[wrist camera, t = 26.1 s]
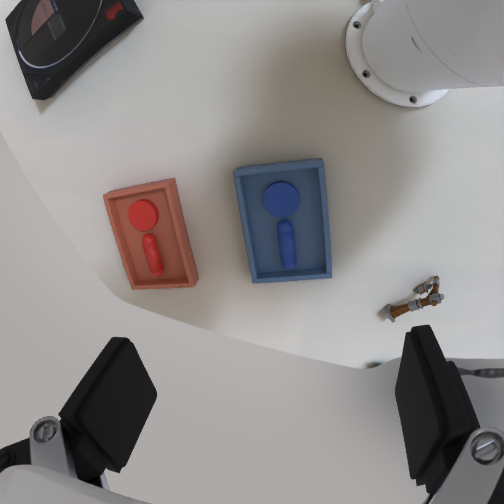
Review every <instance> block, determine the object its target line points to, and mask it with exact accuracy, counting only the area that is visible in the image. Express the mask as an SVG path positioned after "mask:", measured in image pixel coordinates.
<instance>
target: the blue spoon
mask: <svg viewBox="0 0 504 504" xmlns="http://www.w3.org/2000/svg"><path fill="white" fill-rule="evenodd" d="M263 203H264V206H265V208H266V210H267V211H268V212H269V213H270V214H272V215H274V216H276V217H287V216H289V215H291V214H293V213H294V212H295V211H296V210H297V208H298V205H299V193H298V191H297V189H296V188H295V186H294V185H292V184H291V183H289V182H286V181H276V182H274V183H272V184H270V185H269V186H268V187H267V189H266V191H265V193H264V196H263ZM277 236H278V243H279V251H280V258H281V264H282V266H283V267H284V268H285V269H288V270H290V269H293V268H294V267H295V266H296V264H297V257H296V248H295V239H294V230H293V225H292V223H291V222H289V221H287V220H283V221H280V222H279V223H278V225H277Z"/></svg>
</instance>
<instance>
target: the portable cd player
mask: <svg viewBox="0 0 504 504" xmlns="http://www.w3.org/2000/svg"><path fill="white" fill-rule="evenodd" d="M142 19H144V17H143V16H142V14H141V12H140V10H139V9H138V7H137V5H136V3H135V2H134V0H21V1H20V2H19V4H18V5H17V6H16V7H15V8H14V10H13V11H12V12H11V13H10V14H9V16H8V17H7V18H6V19H5V20H6V24H7V27H8V30H9V34H10V37H11V40H12V44H13V47H14V50H15V53H16V56H17V59H18V62H19V64H20V67H21V70H22V73H23V76H24V78H25V81H26V84H27V86H28V89H29V91H30V94H31V96H32V99H38V100H45V99H48V98H51V97H53V95H54V94H55V93H56V92H57V91H58V90H59V89H60V88H61V87H62V86H63V85H64V84H65V83H66V82H67V81H68V80H69V79H70V78H72V77H73V76H74V75H75V74H76V73H77V72H78V71H79V70H80V69H81V68H82V67H83V66H84V65H86V64H87V63H88V62H89V61H90V60H91V59H92V58H94V57H95V56H96V55H97V54H98V53H99V52H101V51H102V50H103V49H104V48H105V47H107V46H108V45H109V44H110V43H112V42H113V41H114V40H115V39H117V38H118V37H119V36H121V35H122V34H123V33H124V32H126V31H127V30H128V29H130V28H131V27H133V26H134V25H135V24H137V23H138V22H140V21H141V20H142Z"/></svg>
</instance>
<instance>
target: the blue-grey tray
mask: <svg viewBox="0 0 504 504" xmlns="http://www.w3.org/2000/svg"><path fill="white" fill-rule="evenodd" d="M233 175H234V180H235V186H236V192H237V197H238V203H239V209H240V214H241V220H242V226H243V231H244V237H245V243H246V248H247V254H248V260H249V265H250V271H251V276H252V282H253V284H254V283H269V282H283V281H297V280H310V279H323V278H332V265H331V247H330V231H329V218H328V205H327V194H326V183H325V173H324V164H323V160H322V158H320V159H309V160H299V161H289V162H280V163H271V164H263V165H255V166H248V167H240V168H236V169H235V170H234V171H233ZM276 181H286V182H289V183H291V184H292V185H294V186H295V188H296V189H297V191H298V193H299V205H298V208H297V210H296V211H295V212H294V213H293V214H291V215H289V216H287V217H276V216H274V215H272V214H270V213H269V212H268V211H267V210H266V208H265V206H264V203H263V196H264V193H265V191H266V189H267V187H268V186H269V185H270V184H272V183H274V182H276ZM283 220H287V221H289V222H291V223H292V225H293V230H294V239H295V248H296V257H297V264H296V266H295V267H294V268H293V269H290V270H288V269H285V268H284V267H283V266H282V264H281V258H280V251H279V243H278V236H277V225H278V223H279V222H280V221H283Z"/></svg>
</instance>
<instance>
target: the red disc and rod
mask: <svg viewBox="0 0 504 504" xmlns="http://www.w3.org/2000/svg"><path fill="white" fill-rule="evenodd" d="M128 217H129V220H130V222H131V224H132V225H133V226H134V227H135V228H136V229H138V230H140V231H148V230H150V229H151V228H153V227H154V226H155V225H156V224H157V222H158V219H159V212H158V209H157V207H156V205H155V204H154V203H153V202H152V201H150V200H148V199H139V200H137V201H136V202H134V203H133V204H132V205H131V206H130V208H129V211H128ZM142 245H143V249H144V252H145V255H146V259H147V262H148V265H149V268H150V271H151V274H152V275H153V276H155V277H159V276H161V275H162V274H163V273H164V266H163V263H162V259H161V256H160V253H159V249H158V245H157V242H156V238H155V236H154V235H153V234H151V233H147V234H145V235H144V236H143V237H142Z"/></svg>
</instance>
